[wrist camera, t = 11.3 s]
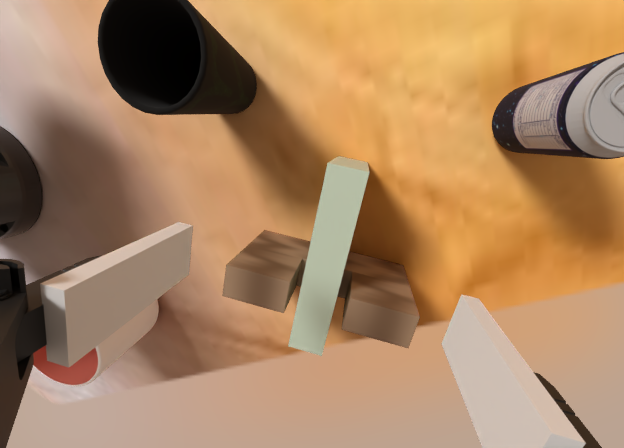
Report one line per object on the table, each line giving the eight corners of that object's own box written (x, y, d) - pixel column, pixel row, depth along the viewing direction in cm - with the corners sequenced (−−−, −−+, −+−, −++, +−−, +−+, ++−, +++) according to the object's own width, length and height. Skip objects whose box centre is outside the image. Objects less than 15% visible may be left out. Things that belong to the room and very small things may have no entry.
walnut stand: (260, 253, 35) (222, 295, 25) (264, 230, 34) (226, 264, 24) (395, 288, 33) (408, 348, 24) (403, 265, 32) (419, 317, 23)
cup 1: (163, 337, 41) (103, 397, 31) (99, 320, 42) (22, 373, 32) (164, 273, 38) (97, 318, 28) (95, 257, 39) (9, 294, 29)
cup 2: (274, 115, 30) (220, 99, 19) (207, 131, 32) (121, 125, 20) (256, 33, 28) (184, -40, 17) (186, 54, 30) (79, 0, 19)
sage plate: (333, 297, 35) (321, 355, 25) (308, 290, 35) (288, 346, 25) (367, 162, 30) (369, 172, 20) (338, 156, 30) (327, 162, 21)
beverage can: (517, 164, 28) (626, 181, 16) (474, 125, 27) (553, 113, 16) (572, 115, 26) (736, 94, 15) (526, 71, 26) (656, 16, 14)
